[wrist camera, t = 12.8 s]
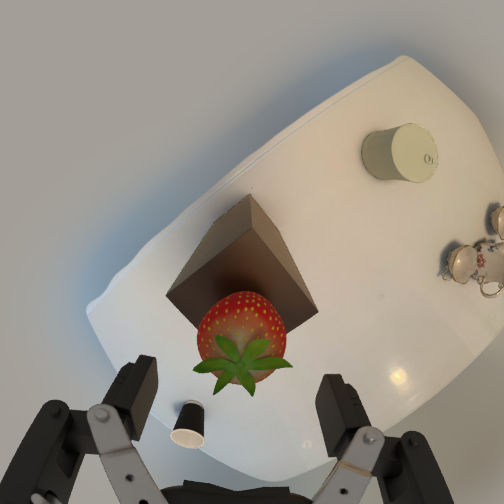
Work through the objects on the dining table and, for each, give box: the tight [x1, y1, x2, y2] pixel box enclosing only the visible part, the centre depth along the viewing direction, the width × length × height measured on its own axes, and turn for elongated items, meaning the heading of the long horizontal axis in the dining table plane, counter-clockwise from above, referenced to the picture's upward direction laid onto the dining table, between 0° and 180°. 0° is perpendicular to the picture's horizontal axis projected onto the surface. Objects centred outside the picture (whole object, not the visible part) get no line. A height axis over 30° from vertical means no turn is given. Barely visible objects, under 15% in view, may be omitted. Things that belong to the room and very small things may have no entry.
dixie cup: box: [170, 401, 205, 448], centre depth 55 cm, size 8×8×11 cm
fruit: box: [193, 291, 293, 397], centre depth 16 cm, size 5×5×8 cm
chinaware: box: [442, 206, 504, 298], centre depth 43 cm, size 28×17×17 cm, turn 130°
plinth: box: [166, 194, 318, 334], centre depth 34 cm, size 8×8×30 cm
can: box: [362, 123, 438, 183], centre depth 39 cm, size 9×9×12 cm
